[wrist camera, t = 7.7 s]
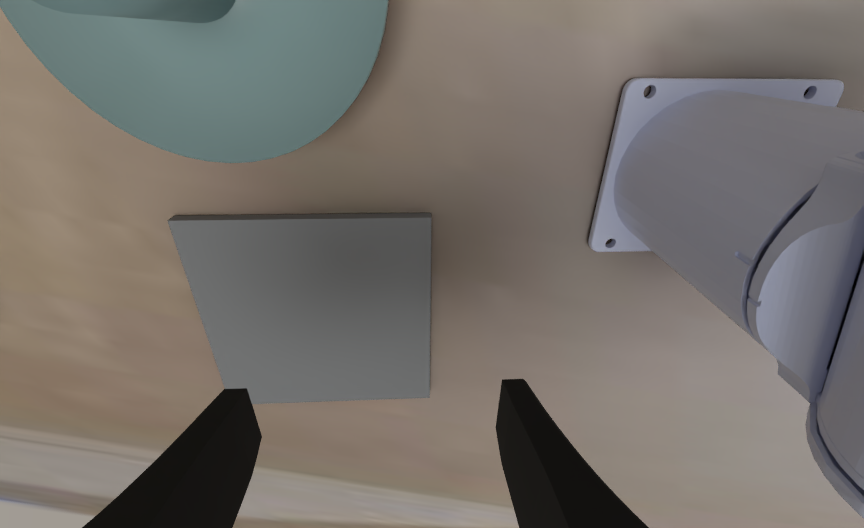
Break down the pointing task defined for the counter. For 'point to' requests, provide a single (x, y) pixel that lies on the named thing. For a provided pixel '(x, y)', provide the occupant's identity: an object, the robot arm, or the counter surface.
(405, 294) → the mat
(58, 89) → the counter surface
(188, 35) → the lid
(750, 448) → the counter surface
